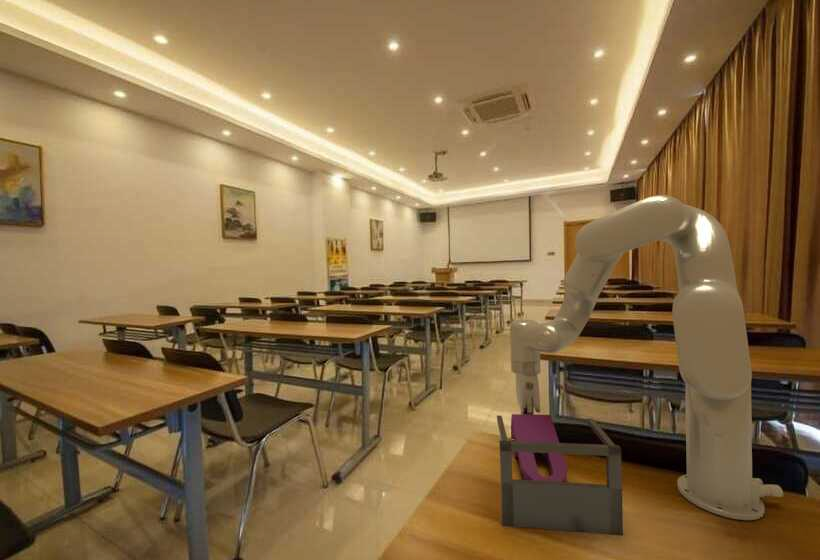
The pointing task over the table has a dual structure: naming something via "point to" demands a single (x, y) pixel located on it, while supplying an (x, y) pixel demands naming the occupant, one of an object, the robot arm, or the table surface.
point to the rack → (562, 490)
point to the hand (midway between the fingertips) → (527, 433)
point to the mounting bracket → (537, 431)
